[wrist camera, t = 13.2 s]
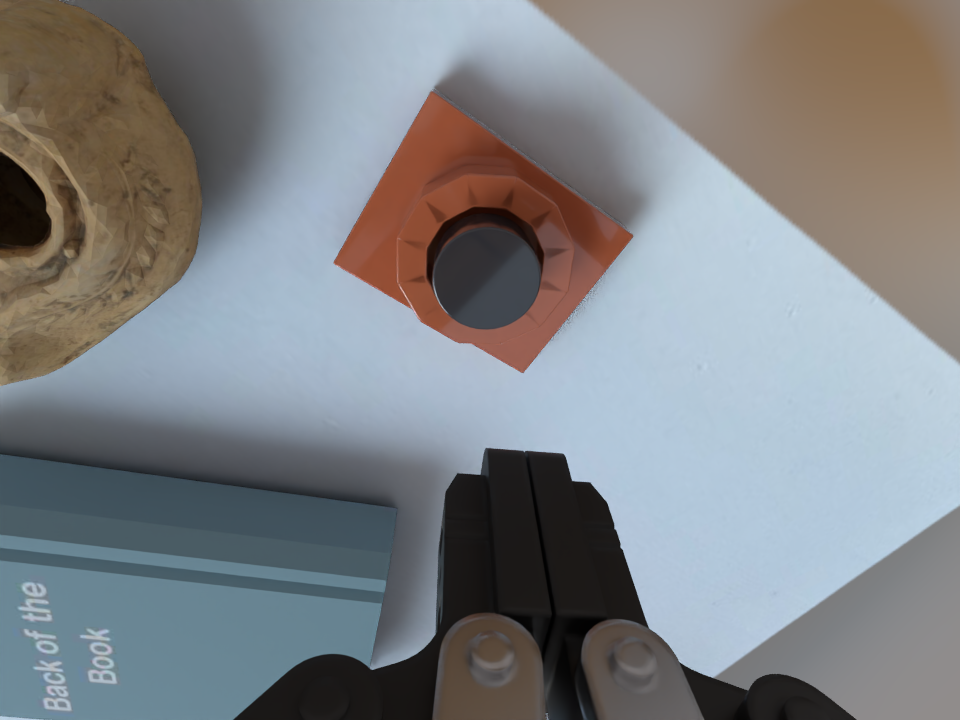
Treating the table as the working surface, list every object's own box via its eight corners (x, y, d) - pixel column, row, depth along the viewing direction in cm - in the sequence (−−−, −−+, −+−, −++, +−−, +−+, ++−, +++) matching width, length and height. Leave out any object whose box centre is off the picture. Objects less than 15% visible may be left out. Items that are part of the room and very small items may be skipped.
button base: (625, 226, 25) (648, 251, 22) (520, 358, 28) (527, 396, 25) (433, 87, 22) (428, 94, 19) (338, 252, 25) (322, 281, 22)
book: (16, 633, 37) (-44, 712, 32) (-37, 436, 29) (-123, 505, 25) (365, 667, 40) (354, 744, 35) (398, 497, 32) (389, 567, 28)
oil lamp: (-43, 312, 26) (-227, 410, 19) (-74, -67, 19) (-375, -132, 12) (203, 378, 28) (119, 488, 21) (252, 56, 21) (152, 61, 14)
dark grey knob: (554, 248, 22) (563, 266, 21) (497, 325, 24) (500, 348, 22) (470, 191, 21) (471, 205, 19) (415, 276, 23) (411, 296, 21)
